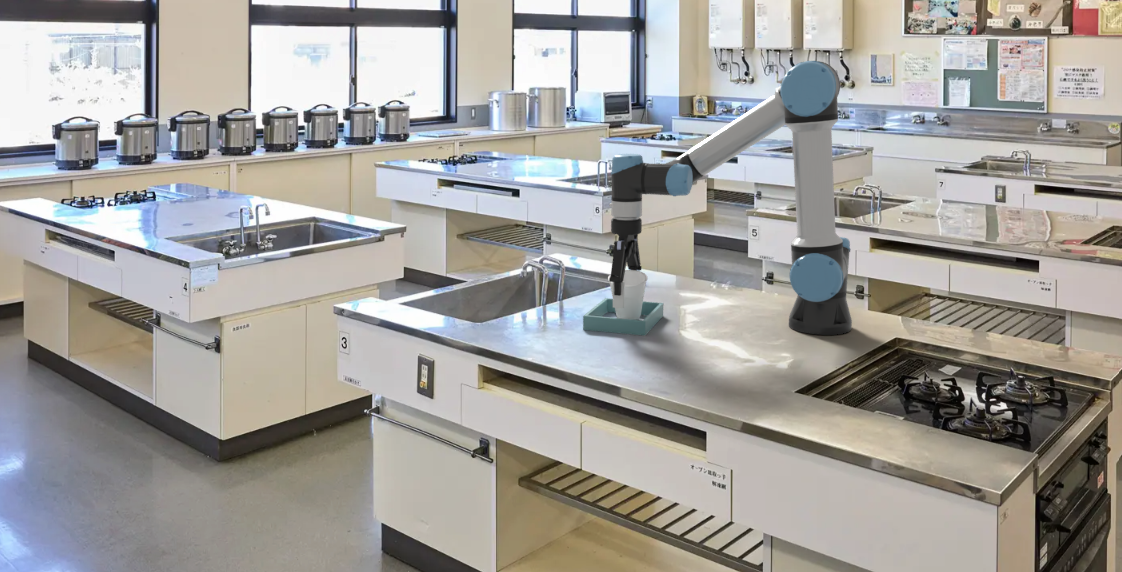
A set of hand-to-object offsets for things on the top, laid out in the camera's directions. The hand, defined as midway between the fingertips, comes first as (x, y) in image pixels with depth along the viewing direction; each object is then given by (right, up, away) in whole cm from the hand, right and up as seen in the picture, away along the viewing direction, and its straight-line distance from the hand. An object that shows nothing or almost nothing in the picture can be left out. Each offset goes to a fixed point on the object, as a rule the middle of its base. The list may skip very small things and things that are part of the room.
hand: (625, 301), depth 249 cm
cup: (+1, -4, +4) cm, 6 cm away
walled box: (0, -5, +1) cm, 6 cm away
